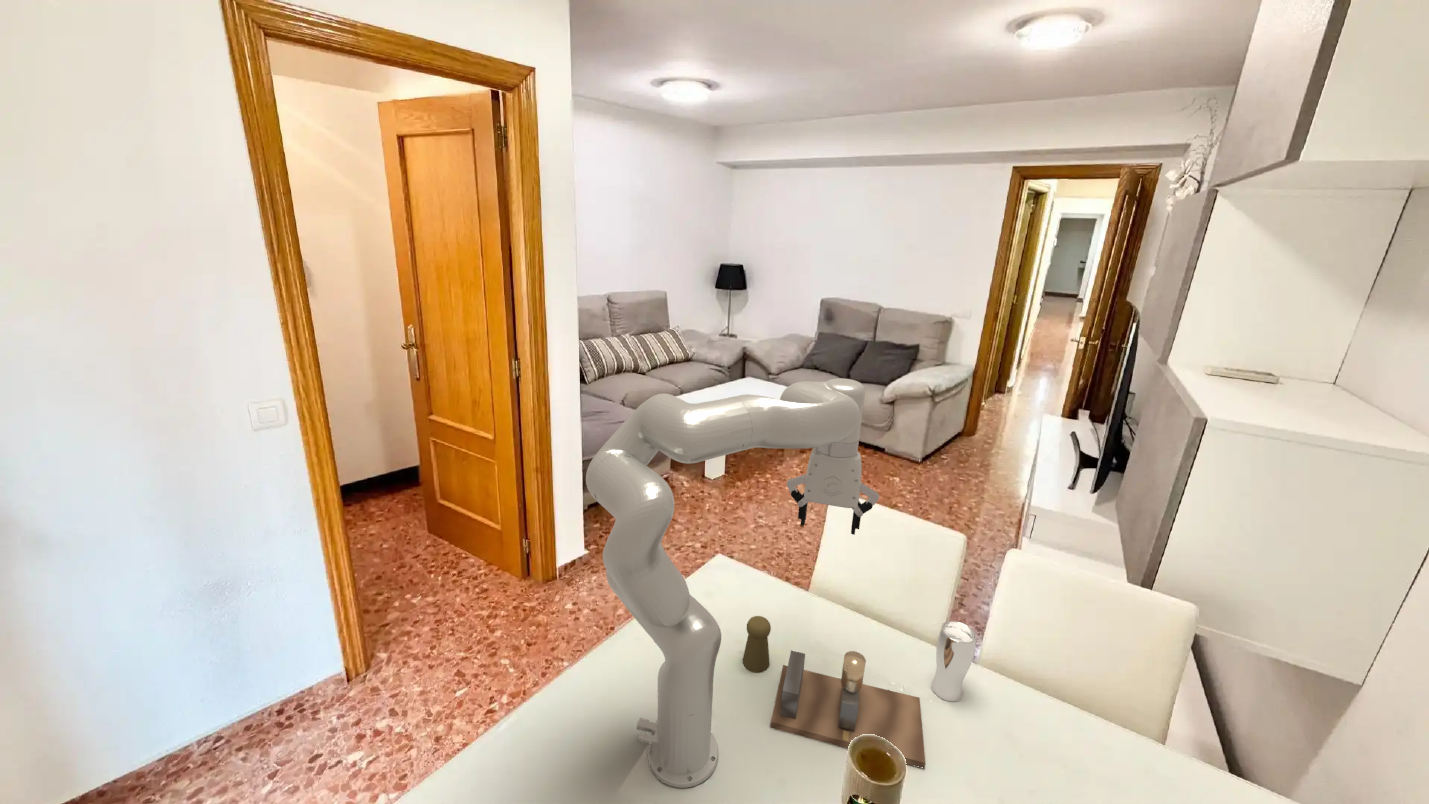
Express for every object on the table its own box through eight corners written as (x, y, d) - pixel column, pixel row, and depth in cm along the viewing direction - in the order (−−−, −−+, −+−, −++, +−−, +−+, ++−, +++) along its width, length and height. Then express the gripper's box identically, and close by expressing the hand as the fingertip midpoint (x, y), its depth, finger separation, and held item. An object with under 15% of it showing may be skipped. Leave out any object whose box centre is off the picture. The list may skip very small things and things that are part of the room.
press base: (770, 727, 106) (773, 696, 103) (782, 670, 119) (785, 642, 117) (924, 769, 99) (930, 737, 96) (918, 703, 112) (924, 674, 110)
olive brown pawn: (768, 675, 118) (771, 633, 115) (740, 670, 119) (743, 628, 116) (771, 655, 124) (774, 614, 120) (744, 650, 125) (747, 609, 121)
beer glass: (964, 684, 118) (977, 626, 113) (964, 708, 112) (977, 648, 107) (930, 673, 120) (941, 615, 116) (927, 696, 114) (939, 636, 110)
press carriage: (835, 726, 104) (842, 675, 101) (839, 686, 113) (845, 638, 110) (857, 732, 103) (865, 681, 100) (859, 691, 112) (866, 643, 109)
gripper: (787, 446, 101) (780, 528, 106) (885, 459, 96) (873, 544, 102) (793, 432, 108) (786, 510, 113) (885, 444, 103) (873, 525, 109)
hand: (827, 526), depth 107 cm, fingers open, 9 cm apart
